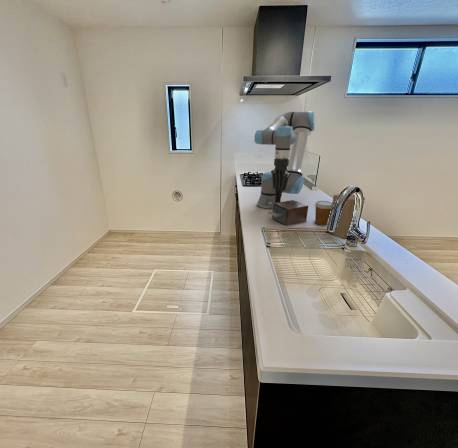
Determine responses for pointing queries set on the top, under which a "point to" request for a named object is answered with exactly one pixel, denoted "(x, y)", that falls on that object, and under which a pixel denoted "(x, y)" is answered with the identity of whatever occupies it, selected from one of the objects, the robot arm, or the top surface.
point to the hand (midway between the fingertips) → (277, 201)
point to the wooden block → (344, 216)
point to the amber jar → (322, 212)
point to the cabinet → (294, 211)
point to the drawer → (279, 214)
